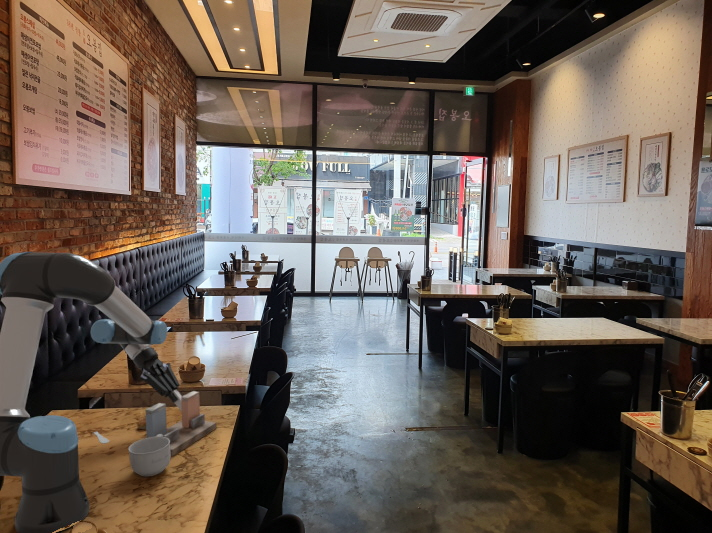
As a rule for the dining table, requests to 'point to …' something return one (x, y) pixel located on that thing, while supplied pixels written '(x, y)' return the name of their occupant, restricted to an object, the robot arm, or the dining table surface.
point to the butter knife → (101, 438)
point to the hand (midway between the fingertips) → (184, 407)
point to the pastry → (142, 423)
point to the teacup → (150, 455)
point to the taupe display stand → (188, 433)
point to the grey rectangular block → (156, 420)
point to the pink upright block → (190, 408)
